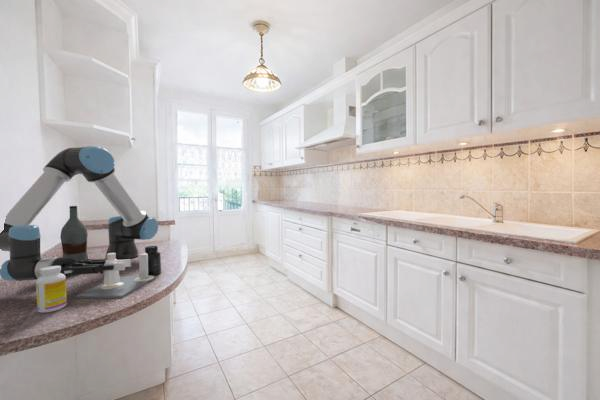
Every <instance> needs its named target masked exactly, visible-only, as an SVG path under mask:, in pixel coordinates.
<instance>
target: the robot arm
mask: <svg viewBox="0 0 600 400" xmlns="http://www.w3.org/2000/svg"><path fill="white" fill-rule="evenodd" d="M42 170H43V173H42V174H41V175H40V176H39V178H37V180H36V181H35V182H34V183H33V184H32V186H30V187H29V188H28V190H27V191H26V192H25V193H24V194H23V195H22V197H20V199H19V200H18V201H17V202H16V203H15V204H14V205H13V207H12V208H11V209H10V210H9V211H8V212H9V213H8V212H7V213H8V214H7V213H6V215H7V216H6V215H5V216H6V219H5V223H4V230H3V231H2V232H1V233H0V249H1V250H2V251H3V252H9V259H8V260H5V261H4V262H3V263H2V264H1V268H0V278H1V279H3V280H4V281H9V282H12V281H13V282H15V281H17V282H22V281H36V280H37V279H38V278H39V277H41V273H40V269H41V268H45V267H50V266H61V271H60V273H61V274H64V275H65V276H66V279H68V278H70V277H71V276H75V275H76V276H79V275H94V274H95V275H96V274H99V275H102V274H103V275H104V272H105V271H119V272H120V271H125V270H126V268H130V267H132V259H133V257H134V258H137V257H139V250H138V248H137V245H136V242H135V240H141V241H145V240H147V241H148V240H151V239H153V238H154V237H155V236H156V235H157V234H158V230H159V222H158V219H156V218H154V217H149V215H148V214H147V212H146V211H144V210H140V208H139V207H138V205H137V204H136V203H135V200H133V199H132V197H131V196H130V194H129V193H128V192H127V190H126V189H125V188H124V186H123V185H122V183H121V182H120V181H119V179H118V178H117V176H116V175H115V172H116V169H115V158H114V156H113V155H112V153H111V152H110V151H109V150H107V149H106V148H103V147H101V146H92V145H91V146H89V145H88V146H83V147H82V146H81V147H68V148H65V149H64V150H61V151H59V152H58V153H57V154H56V155H55V156H54V157H52V158H51V160H49V161H48V163H47V164H46V165H45V166H44V167H43V168H42ZM76 175H82V176H83V177H84V178H85V180H86V181H87V182H89V183H94V185H95V186H96V187H97V188H98V189H99V191H100V192H101V193H102V195H103V196H104V197H105V199H106V200H107V201H108V203H110V205H111V206H112V207H113V209H114V210H115V211H116V212H117V214H118V215H119V216H112V217H110V218H108V224H107V226H108V228H107V231H108V246H107V250H106V253H105V256H104V257H105V258H100V259H98V258H97V259H91V258H88V260H87V261H83V260H80V261H77V262H75V260H74V259H73V258H71V257H63V256H62V257H57V256H55V257H54V256H53V257H42V256H41V237H42V236H41V232H40V227H39V226H38V225H36V224H32V223H33V221H34V220H35V219H36V218H37V217H38V216H39V214H40V213H41V212H42V210H43V209H44V208H45V207H46V206H47V204H49V202H50V201H51V199H52V198H53V197H54V196H55V194H56V193H57V192H58V191H59V190H60V189H61V187H62V186H63V185H64V184H65V183H67V182H70V181H71V180H72V178H73V177H75V176H76ZM2 251H1V252H2ZM108 253H116V255H115V256H116V257H115V258H116V259H117V262H118V263H105V262H106V260H107V254H108ZM136 256H137V257H136Z"/></svg>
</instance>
